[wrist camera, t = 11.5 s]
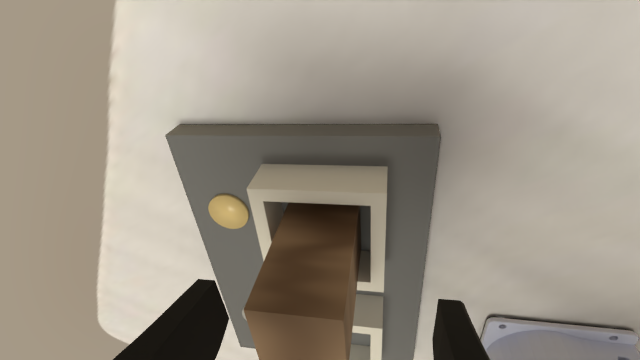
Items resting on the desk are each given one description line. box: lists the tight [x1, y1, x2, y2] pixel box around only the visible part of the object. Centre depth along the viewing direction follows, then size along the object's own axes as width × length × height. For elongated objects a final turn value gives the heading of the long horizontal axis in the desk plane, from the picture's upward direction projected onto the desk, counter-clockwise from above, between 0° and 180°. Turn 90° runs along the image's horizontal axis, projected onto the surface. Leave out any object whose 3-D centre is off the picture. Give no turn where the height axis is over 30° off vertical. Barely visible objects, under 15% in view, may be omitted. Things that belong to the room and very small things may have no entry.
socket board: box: [165, 124, 441, 360], centre depth 23 cm, size 15×21×4 cm
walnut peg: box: [244, 202, 361, 360], centre depth 17 cm, size 4×4×8 cm
